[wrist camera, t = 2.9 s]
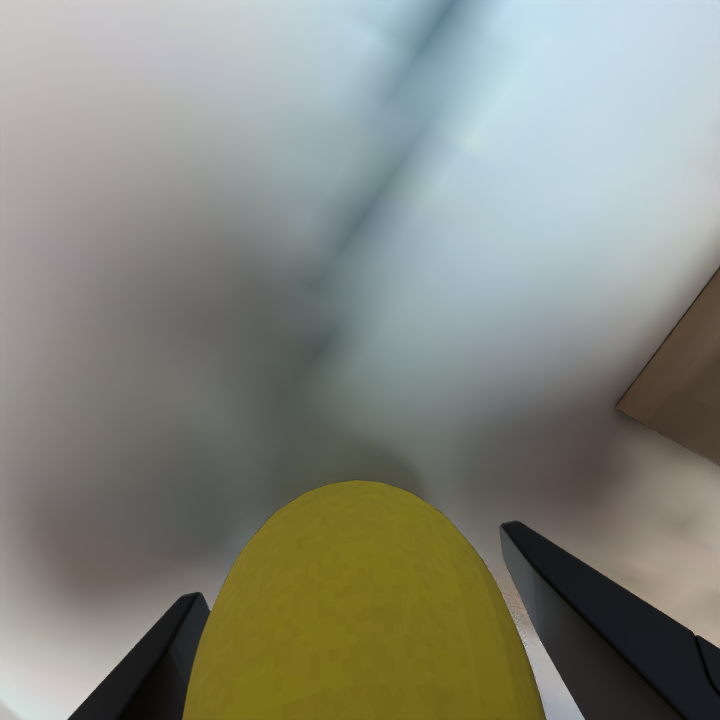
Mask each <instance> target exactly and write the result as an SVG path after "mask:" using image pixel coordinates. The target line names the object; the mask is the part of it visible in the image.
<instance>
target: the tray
mask: <svg viewBox="0 0 720 720" xmlns="http://www.w3.org/2000/svg"><path fill="white" fill-rule="evenodd" d="M615 408H616V409H618V410H620V411H621V412H623V413H625V414H627V415H629V416H630V417H632V418H634V419H636V420H638V421H639V422H641V423H643V424H645V425H647V426H648V427H650V428H652V429H654V430H656V431H657V432H659V433H661V434H663V435H664V436H666V437H668V438H670V439H672V440H673V441H675V442H677V443H679V444H681V445H682V446H684V447H686V448H688V449H690V450H691V451H693V452H695V453H697V454H699V455H700V456H702V457H704V458H706V459H707V460H709V461H711V462H713V463H715V464H716V465H718V466H720V269H719V271H718V272H717V273H716V275H715V276H714V277H713V279H712V280H711V281H710V282H709V284H708V285H707V286H706V288H705V289H704V290H703V292H702V293H701V294H700V296H699V297H698V298H697V300H696V301H695V302H694V304H693V305H692V306H691V308H690V309H689V310H688V312H687V313H686V314H685V316H684V317H683V318H682V320H681V321H680V322H679V324H678V325H677V326H676V328H675V329H674V330H673V332H672V333H671V334H670V336H669V337H668V338H667V340H666V341H665V342H664V344H663V345H662V346H661V348H660V349H659V350H658V352H657V353H656V354H655V356H654V357H653V358H652V360H651V361H650V362H649V364H648V365H647V366H646V368H645V369H644V370H643V372H642V373H641V374H640V375H639V377H638V378H637V379H636V381H635V382H634V383H633V385H632V386H631V387H630V389H629V390H628V391H627V393H626V394H625V395H624V397H623V398H622V399H621V401H620V402H619V403H618V405H617V406H616V407H615Z"/></svg>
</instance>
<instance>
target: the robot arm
mask: <svg viewBox="0 0 720 720" xmlns="http://www.w3.org/2000/svg"><path fill="white" fill-rule="evenodd" d="M500 538H501V547H502V554H503V558H504V561H505V563H506V566H507V568H508V570H509V572H510V574H511V577H512V579H513V581H514V583H515V586H516V588H517V590H518V592H519V595H520V597H521V599H522V601H523V604H524V606H525V608H526V610H527V612H528V615H529V617H530V619H531V621H532V624H533V626H534V628H535V630H536V632H537V634H538V636H539V638H540V640H541V642H542V644H543V646H544V648H545V650H546V651H547V653H548V655H549V657H550V658H551V660H552V662H553V664H554V665H555V667H556V669H557V671H558V673H559V674H560V676H561V678H562V680H563V681H564V683H565V685H566V687H567V689H568V690H569V692H570V694H571V696H572V697H573V699H574V701H575V703H576V704H577V706H578V708H579V710H580V712H581V713H582V715H583V717H584V719H585V720H720V648H718V647H716V646H715V645H713V644H712V643H710V642H708V641H707V640H705V639H704V638H702V637H701V636H699V635H696V636H695V635H694V633H693V632H692V631H691V630H689V629H688V628H686V627H685V626H683V625H681V624H680V623H678V622H677V621H675V620H674V619H672V618H670V617H669V616H667V615H666V614H664V613H663V612H661V611H659V610H658V609H656V608H655V607H653V606H652V605H650V604H648V603H647V602H645V601H644V600H642V599H641V598H639V597H637V596H636V595H634V594H633V593H631V592H630V591H628V590H626V589H625V588H623V587H622V586H620V585H619V584H617V583H615V582H614V581H612V580H611V579H609V578H608V577H606V576H604V575H603V574H601V573H600V572H598V571H597V570H595V569H593V568H592V567H590V566H589V565H587V564H586V563H584V562H582V561H581V560H579V559H578V558H576V557H575V556H573V555H571V554H570V553H568V552H567V551H565V550H564V549H562V548H560V547H559V546H557V545H556V544H554V543H553V542H551V541H549V540H548V539H546V538H545V537H543V536H541V535H540V534H538V533H537V532H535V531H534V530H532V529H530V528H529V527H527V526H526V525H524V524H523V523H521V522H519V521H511V522H506V523H502V524H501V525H500ZM209 614H210V610H209V607H208V605H207V603H206V601H205V598H204V596H203V594H202V593H200V592H194V593H190V594H185V595H183V596H181V597H180V598H179V599H178V600H177V601H176V602H175V603H174V604H173V605H172V606H171V607H170V608H169V609H168V611H167V612H166V613H165V614H164V615H163V616H162V617H161V618H160V619H159V620H158V621H157V623H156V624H155V625H154V626H153V627H152V628H151V629H150V630H149V631H148V632H147V633H146V634H145V636H144V637H143V638H142V639H141V640H140V641H139V642H138V643H137V644H136V645H135V646H134V648H133V649H132V650H131V651H130V652H129V653H128V654H127V655H126V656H125V657H124V658H123V660H122V661H121V662H120V663H119V664H118V665H117V666H116V667H115V668H114V669H113V670H112V671H111V673H110V674H109V675H108V676H107V677H106V678H105V679H104V680H103V681H102V682H101V683H100V685H99V686H98V687H97V688H96V689H95V690H94V691H93V692H92V693H91V694H90V695H89V696H88V698H87V699H86V700H85V701H84V702H83V703H82V704H81V705H80V706H79V707H78V708H77V710H76V711H75V712H74V713H73V714H72V715H71V716H70V717H69V718H68V719H67V720H182V719H183V713H184V707H185V701H186V696H187V690H188V685H189V681H190V676H191V672H192V667H193V663H194V659H195V656H196V652H197V649H198V646H199V642H200V639H201V635H202V633H203V630H204V627H205V625H206V622H207V620H208V617H209Z"/></svg>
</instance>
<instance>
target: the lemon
mask: <svg viewBox="0 0 720 720" xmlns="http://www.w3.org/2000/svg"><path fill="white" fill-rule="evenodd" d="M182 720H546V717H545V713H544V709H543V705H542V701H541V697H540V694H539V690H538V687H537V684H536V680H535V677H534V674H533V671H532V667H531V664H530V662H529V659H528V656H527V654H526V651H525V648H524V645H523V643H522V640H521V638H520V635H519V633H518V631H517V628H516V626H515V624H514V621H513V619H512V617H511V614H510V612H509V610H508V607H507V605H506V603H505V601H504V598H503V596H502V594H501V591H500V590H499V588H498V586H497V584H496V582H495V580H494V578H493V576H492V574H491V573H490V571H489V570H488V568H487V566H486V565H485V563H484V562H483V560H482V559H481V557H480V556H479V554H478V553H477V552H476V551H475V549H474V548H473V547H472V545H471V544H470V543H469V542H468V541H467V540H466V538H465V537H464V536H463V535H462V534H461V533H460V532H459V530H458V529H457V528H456V527H455V526H454V525H453V524H452V523H451V522H450V520H449V519H448V518H447V517H446V516H445V515H444V514H443V513H441V512H440V511H439V510H437V509H436V508H435V507H433V506H432V505H430V504H429V503H427V502H425V501H424V500H422V499H421V498H419V497H417V496H416V495H414V494H413V493H411V492H408V491H406V490H404V489H400V488H397V487H394V486H391V485H388V484H385V483H382V482H373V481H362V480H351V481H344V482H337V483H330V484H327V485H324V486H322V487H319V488H316V489H313V490H311V491H308V492H305V493H304V494H302V495H301V496H299V497H298V498H296V499H294V500H293V501H291V502H290V503H288V504H287V505H285V506H284V507H282V508H281V509H279V510H278V511H276V512H275V513H274V514H273V515H272V516H271V517H270V518H269V519H268V520H267V521H266V523H265V524H264V525H263V526H262V527H261V528H260V529H259V530H258V531H257V533H256V534H255V535H254V536H253V537H252V538H251V539H250V540H249V542H248V543H247V544H246V546H245V547H244V548H243V550H242V551H241V553H240V554H239V556H238V558H237V559H236V561H235V563H234V565H233V566H232V568H231V570H230V572H229V574H228V576H227V579H226V581H225V583H224V585H223V587H222V589H221V591H220V593H219V595H218V597H217V599H216V601H215V603H214V606H213V608H212V610H211V612H210V614H209V617H208V620H207V622H206V625H205V627H204V630H203V633H202V635H201V639H200V642H199V646H198V649H197V652H196V656H195V659H194V663H193V667H192V672H191V676H190V681H189V685H188V690H187V696H186V701H185V707H184V713H183V719H182Z"/></svg>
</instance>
